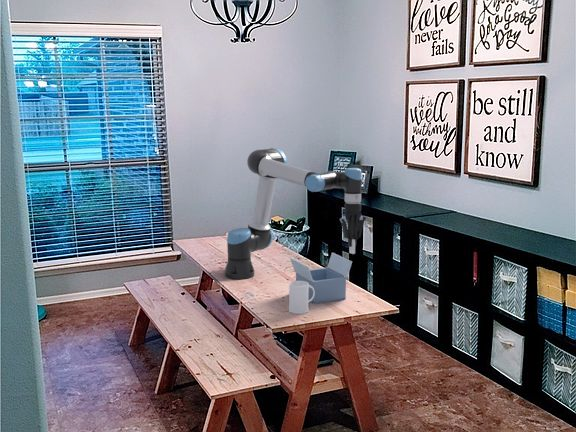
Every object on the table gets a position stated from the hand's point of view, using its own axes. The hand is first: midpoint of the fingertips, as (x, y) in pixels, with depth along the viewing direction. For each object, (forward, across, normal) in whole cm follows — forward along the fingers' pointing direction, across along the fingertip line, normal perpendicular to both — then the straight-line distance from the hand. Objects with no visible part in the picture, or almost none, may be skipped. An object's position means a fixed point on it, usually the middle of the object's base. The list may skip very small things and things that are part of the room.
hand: (352, 253), depth 278 cm
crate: (+18, -16, 0) cm, 24 cm away
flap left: (+5, -26, 0) cm, 26 cm away
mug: (+19, -32, -14) cm, 40 cm away
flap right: (+5, -7, 0) cm, 8 cm away
